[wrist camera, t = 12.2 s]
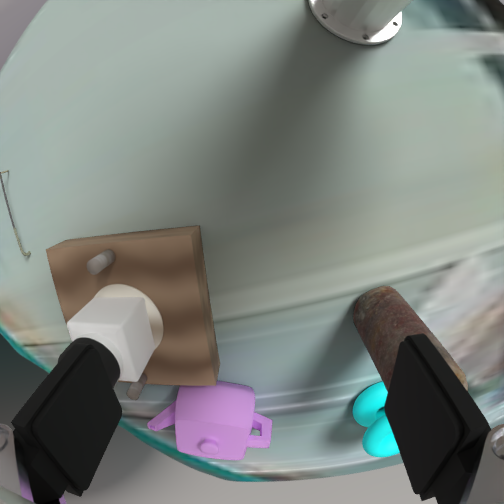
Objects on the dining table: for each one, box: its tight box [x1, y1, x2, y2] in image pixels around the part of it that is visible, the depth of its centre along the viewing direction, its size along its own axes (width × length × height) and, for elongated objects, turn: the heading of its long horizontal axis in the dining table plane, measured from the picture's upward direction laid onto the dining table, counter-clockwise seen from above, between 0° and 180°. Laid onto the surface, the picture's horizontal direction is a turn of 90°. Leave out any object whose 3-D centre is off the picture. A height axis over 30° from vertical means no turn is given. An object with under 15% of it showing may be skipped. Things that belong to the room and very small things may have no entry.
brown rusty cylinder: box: [353, 286, 468, 392], centre depth 30 cm, size 8×7×20 cm
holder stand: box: [46, 226, 220, 400], centre depth 35 cm, size 20×20×9 cm
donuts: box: [353, 381, 400, 457], centre depth 39 cm, size 10×10×10 cm
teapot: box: [147, 381, 272, 460], centre depth 40 cm, size 18×10×10 cm, turn 84°
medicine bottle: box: [58, 297, 155, 388], centre depth 29 cm, size 7×7×12 cm
